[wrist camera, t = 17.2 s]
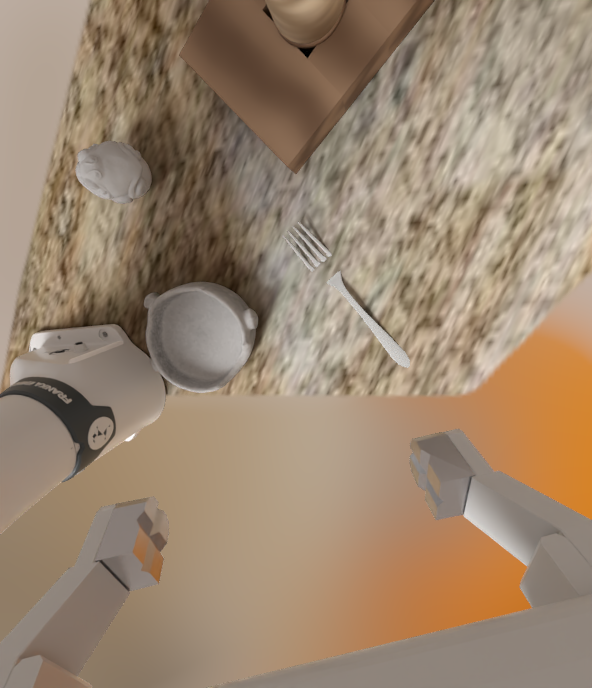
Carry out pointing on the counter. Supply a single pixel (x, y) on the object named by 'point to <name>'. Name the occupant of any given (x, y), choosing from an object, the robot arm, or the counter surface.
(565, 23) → the counter surface
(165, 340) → the dish
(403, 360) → the fork
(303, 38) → the maple leg
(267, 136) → the walnut board
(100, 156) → the frog figurine
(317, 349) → the counter surface
